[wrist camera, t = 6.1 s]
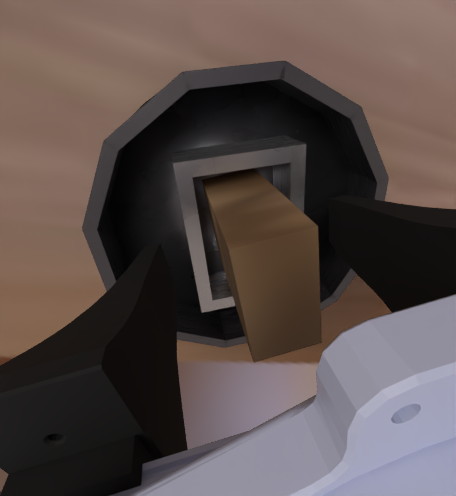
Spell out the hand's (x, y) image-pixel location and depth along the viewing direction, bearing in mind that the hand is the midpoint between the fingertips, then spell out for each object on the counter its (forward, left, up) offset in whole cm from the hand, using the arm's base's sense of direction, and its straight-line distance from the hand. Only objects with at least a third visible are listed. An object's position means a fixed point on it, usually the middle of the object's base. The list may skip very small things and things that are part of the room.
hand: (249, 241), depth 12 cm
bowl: (0, 0, -3) cm, 3 cm away
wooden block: (0, 0, -2) cm, 2 cm away
